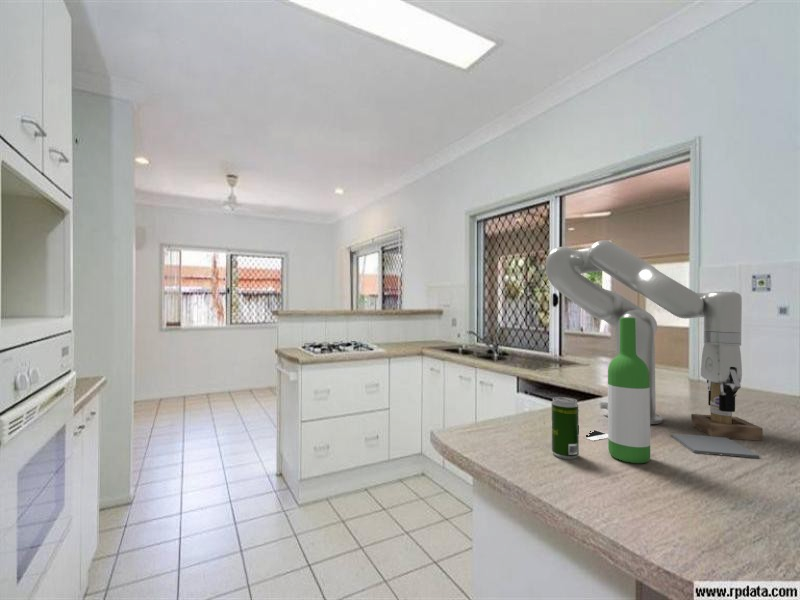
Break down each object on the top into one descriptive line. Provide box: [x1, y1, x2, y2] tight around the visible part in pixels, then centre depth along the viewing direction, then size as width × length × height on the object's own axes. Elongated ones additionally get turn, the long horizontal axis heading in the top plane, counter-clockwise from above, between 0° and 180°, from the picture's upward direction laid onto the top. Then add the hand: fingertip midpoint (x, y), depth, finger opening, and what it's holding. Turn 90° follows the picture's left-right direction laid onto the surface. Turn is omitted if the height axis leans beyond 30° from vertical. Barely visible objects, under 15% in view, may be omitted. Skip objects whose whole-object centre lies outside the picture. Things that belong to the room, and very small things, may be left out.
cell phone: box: [586, 429, 608, 442], centre depth 101 cm, size 8×16×1 cm, turn 24°
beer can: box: [551, 396, 580, 460], centre depth 83 cm, size 5×5×12 cm
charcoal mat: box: [669, 433, 760, 459], centre depth 89 cm, size 12×12×1 cm
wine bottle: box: [607, 318, 651, 464], centre depth 82 cm, size 8×8×30 cm
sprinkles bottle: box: [709, 381, 733, 424], centre depth 100 cm, size 5×5×13 cm
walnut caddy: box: [690, 413, 764, 441], centre depth 99 cm, size 10×10×3 cm
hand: (721, 407), depth 99 cm, fingers closed on sprinkles bottle, 4 cm apart
